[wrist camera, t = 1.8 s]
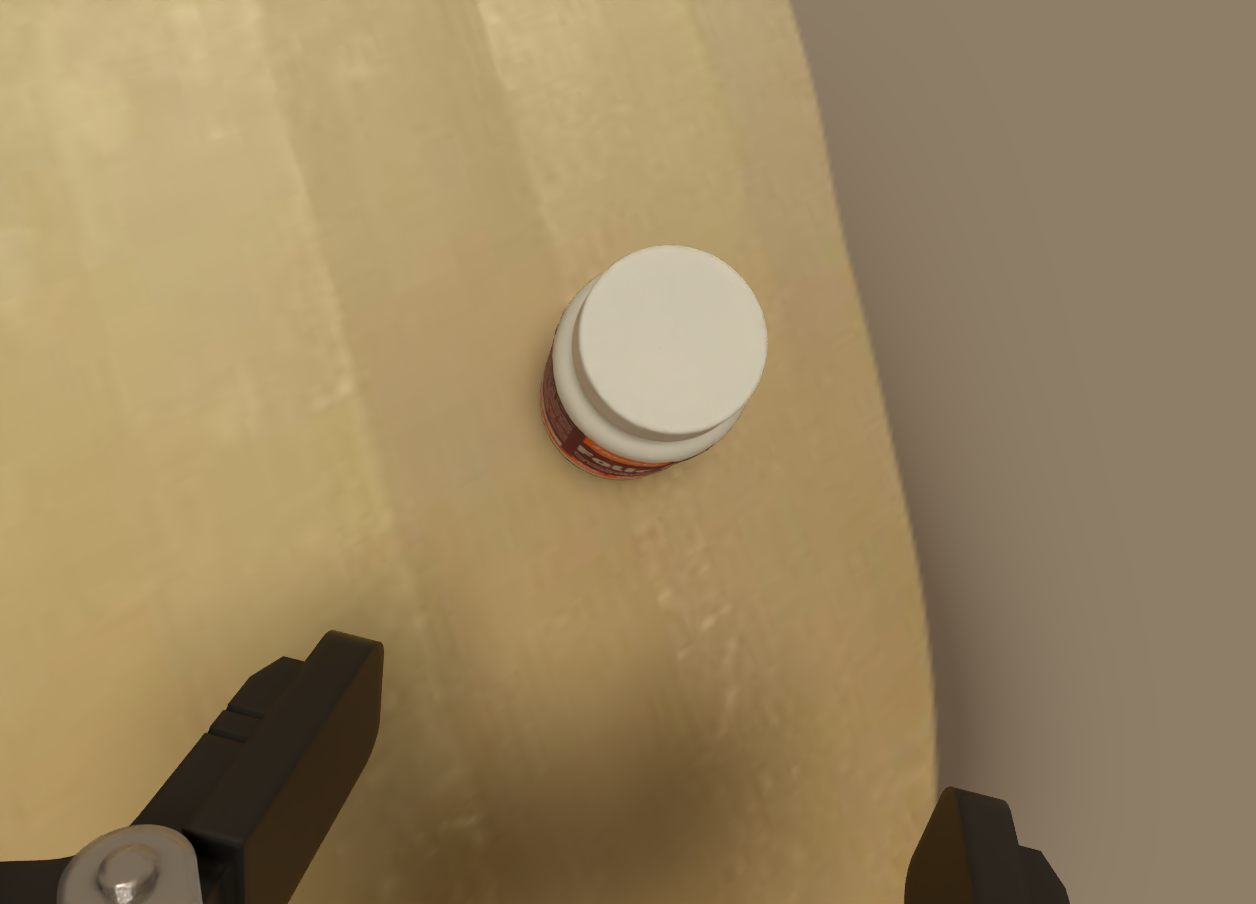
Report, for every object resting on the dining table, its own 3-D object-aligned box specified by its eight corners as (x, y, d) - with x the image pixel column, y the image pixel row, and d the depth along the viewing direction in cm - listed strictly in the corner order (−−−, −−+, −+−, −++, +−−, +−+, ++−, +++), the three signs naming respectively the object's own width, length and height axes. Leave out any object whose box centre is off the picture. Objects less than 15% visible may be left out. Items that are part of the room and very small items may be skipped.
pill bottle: (557, 496, 27) (585, 474, 19) (524, 335, 27) (537, 244, 19) (715, 463, 28) (809, 428, 20) (681, 307, 28) (759, 208, 20)
